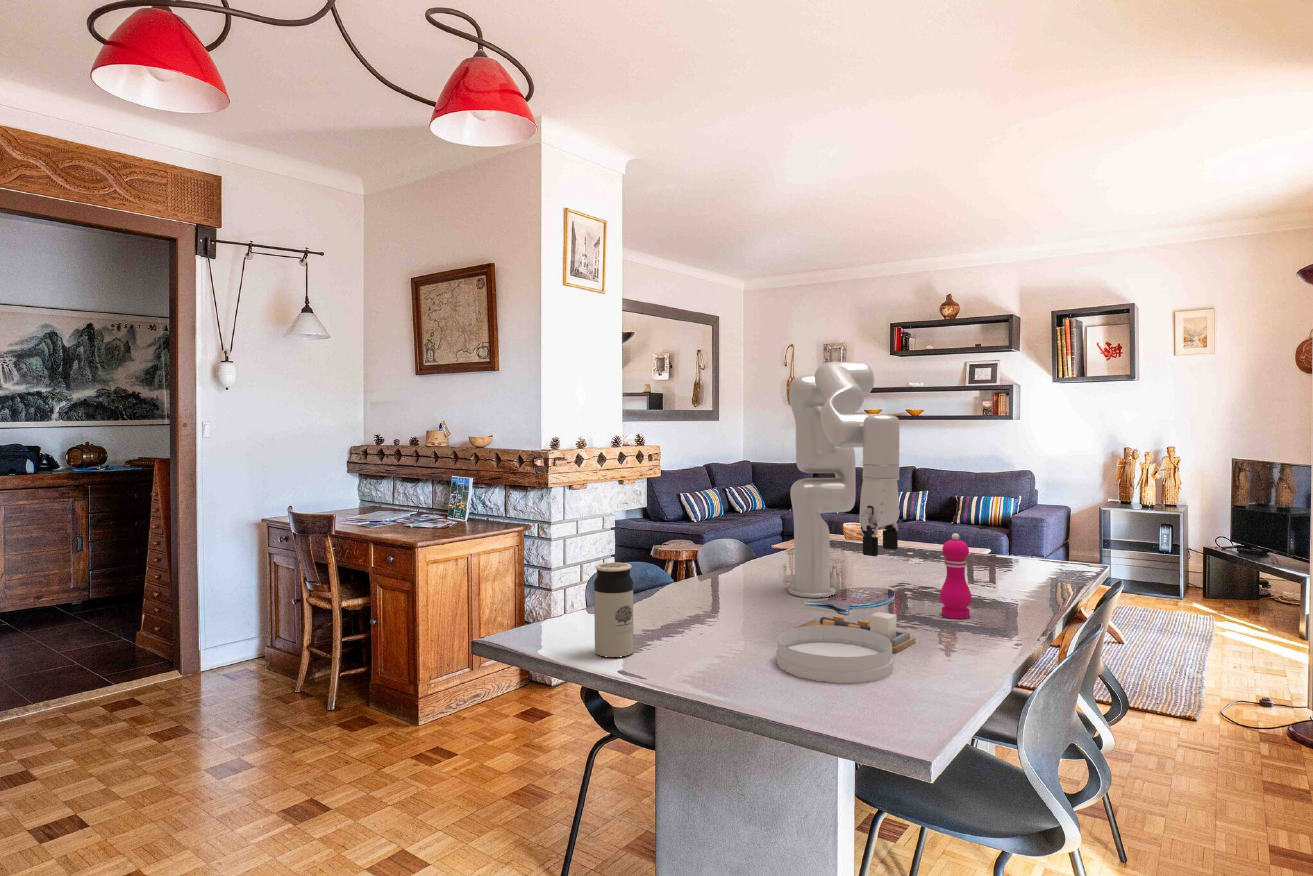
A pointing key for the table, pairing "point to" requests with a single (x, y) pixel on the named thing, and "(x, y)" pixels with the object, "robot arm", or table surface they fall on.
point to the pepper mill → (955, 580)
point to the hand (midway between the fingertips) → (880, 552)
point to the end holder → (900, 638)
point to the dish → (835, 654)
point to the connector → (874, 624)
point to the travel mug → (613, 610)
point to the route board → (894, 648)
